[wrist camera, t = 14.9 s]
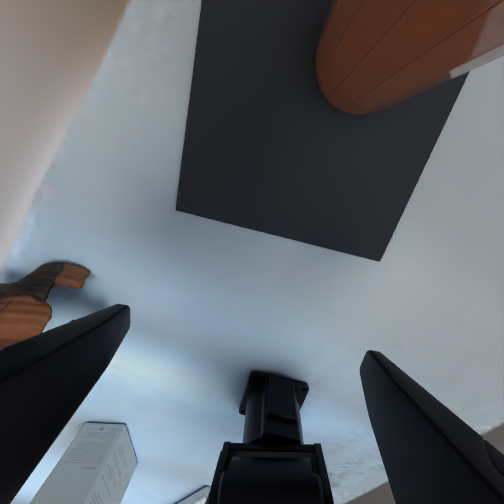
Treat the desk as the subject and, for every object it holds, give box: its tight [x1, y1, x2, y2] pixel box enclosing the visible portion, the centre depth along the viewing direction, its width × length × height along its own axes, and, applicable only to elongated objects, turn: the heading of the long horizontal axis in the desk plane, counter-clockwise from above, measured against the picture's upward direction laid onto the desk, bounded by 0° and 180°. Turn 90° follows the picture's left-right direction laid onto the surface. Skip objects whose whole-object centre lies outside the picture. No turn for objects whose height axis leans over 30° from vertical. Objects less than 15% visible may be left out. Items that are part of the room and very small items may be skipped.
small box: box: [30, 423, 138, 504], centre depth 28 cm, size 8×6×10 cm
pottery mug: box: [0, 263, 90, 350], centre depth 23 cm, size 12×10×8 cm
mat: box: [176, 0, 470, 262], centre depth 17 cm, size 20×18×1 cm
